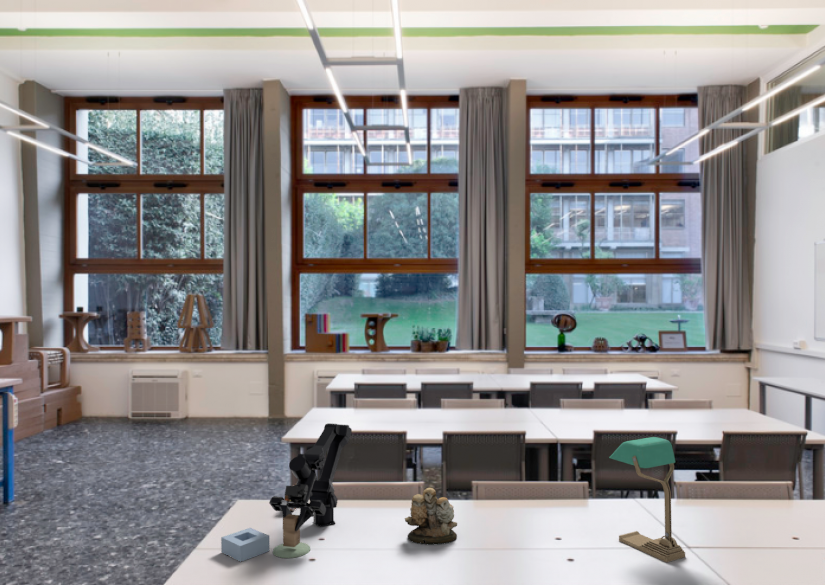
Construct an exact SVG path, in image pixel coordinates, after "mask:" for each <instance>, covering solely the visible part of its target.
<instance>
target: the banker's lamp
mask: <svg viewBox="0 0 825 585" xmlns="http://www.w3.org/2000/svg"><path fill="white" fill-rule="evenodd" d="M608 457H609V459H612V460H615V461H618V462H622V463H625V464H628V465H631V466H634V468H635V469H634V470H635V472H636V475H638V476H639V477H641V478H644V479H647V480H651V481H654V482H658V483H660V484H661V485H662V489H663V493H664V535H663V536H661V537H658V538H653V539H652V538H650V537H648V536H645V535H644V534H641V533H640V531H638V530H634V531H632V532H628V533H624V534H620V535H618V541H619V542H620V543H623V544H625V545H627V546H629V547H631V548H634V549H636V550H639V551H641V552H643V553H645V554H647V555H649V556H652V557H654V558H656V559H658V560H660V561H662V562H664V563H670V562H672V561H677V560H679V559H682V558H683V559H684V558H686V551H685V550H684V548H682V546H681V545H680V544H678V543H677V540H676V539H675V538H674V537H673V535H672V534H673V533H672V493H671V488H670V484H669V479H670V478H671V476H672V473H673V472H674V470H675V465H674V464H675V463H676V458H675V453H674V450H673V446H672V442H670V441H669V440H668V439H665V438H661V437H658V436H657V437H656V436H651V437H646V438H639V439H632V440H627V441H624V442H622V443H621V444H620V445H619V446H618V447H617V448H616V449H615V450H614V452H613V453H612V454H611V455H610V456H608ZM664 465H665V466H666V465H669V470H668V472H667V474H666V476H665V477H664V479H663V480H661V479H658V478H655V477H652V476H650V475H647V474H644V473H642V472H641V469H650V468H655V467H660V466H664ZM638 476H637V477H638Z"/></svg>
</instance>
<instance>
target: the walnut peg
mask: <svg viewBox="0 0 825 585" xmlns="http://www.w3.org/2000/svg"><path fill="white" fill-rule="evenodd" d="M299 515H300V514H293V513H292V514H288V515H287V516H286V517H284V518H283V517H282V544H283V546H288V547H295V546H296V545H298V544H299V543H300V542H301V527H300V528H299V529H298V530H297V531H295V526H296V523H297V520H298V518H299Z"/></svg>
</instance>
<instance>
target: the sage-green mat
mask: <svg viewBox="0 0 825 585" xmlns="http://www.w3.org/2000/svg"><path fill="white" fill-rule="evenodd" d="M310 551H311V545H309V544H308V543H305V542H301V541H300V543H299V544H298V545H296V546H295V547H288V546H283V543H280V544H279V545H277V546H275V547H274V548H273V549H272V553H273V556H276V557H278V558H281V559H294V558H300V557H302V556H305V555H306V554H308V553H310Z"/></svg>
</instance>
